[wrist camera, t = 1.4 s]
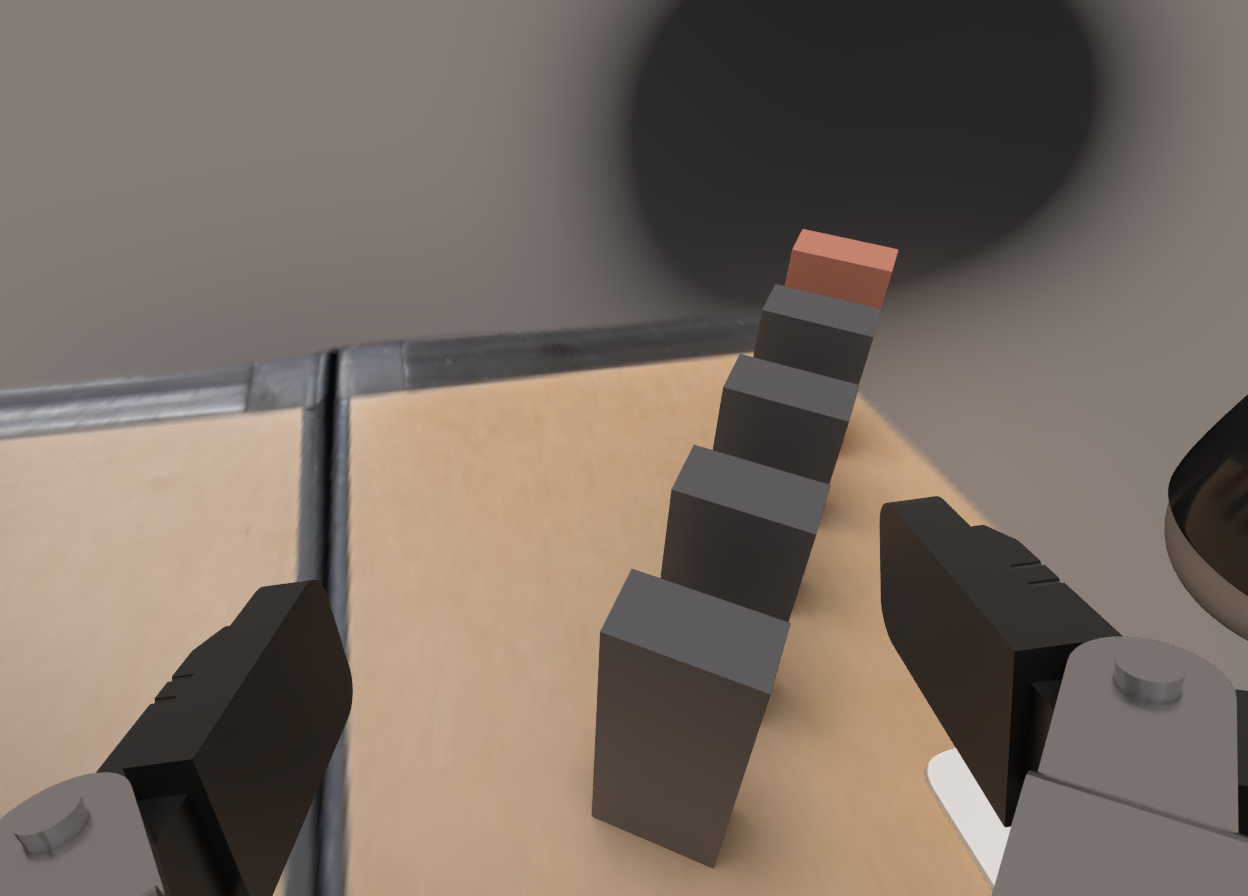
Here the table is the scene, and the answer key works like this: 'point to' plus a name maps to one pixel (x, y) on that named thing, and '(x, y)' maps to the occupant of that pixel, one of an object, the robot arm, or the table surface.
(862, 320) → the domino
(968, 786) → the smartphone
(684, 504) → the domino
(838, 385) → the domino
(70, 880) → the robot arm
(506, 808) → the table surface
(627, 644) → the domino
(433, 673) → the table surface
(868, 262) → the domino
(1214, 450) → the black egg shape
